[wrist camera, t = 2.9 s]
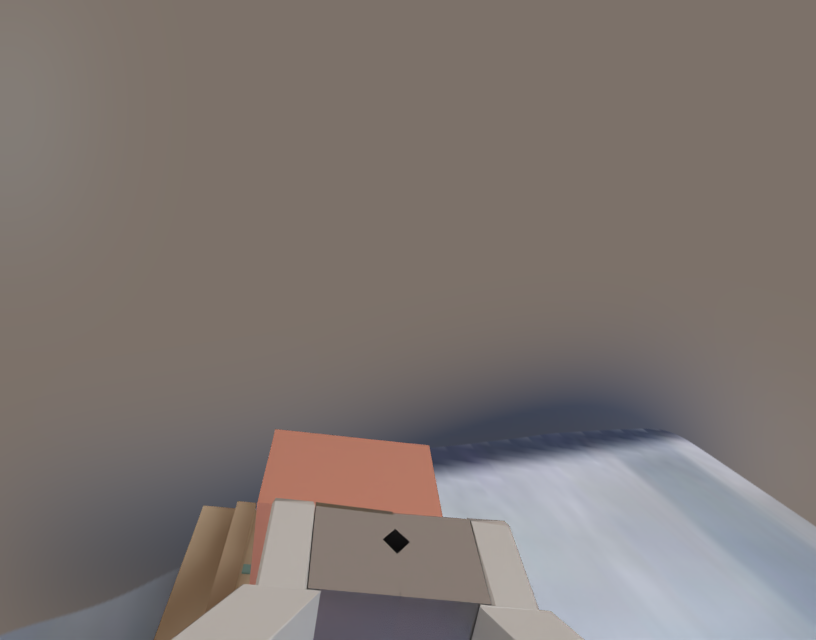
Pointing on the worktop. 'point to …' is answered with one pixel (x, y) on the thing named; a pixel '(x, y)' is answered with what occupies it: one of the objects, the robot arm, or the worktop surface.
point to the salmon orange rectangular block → (345, 477)
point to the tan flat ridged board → (210, 565)
